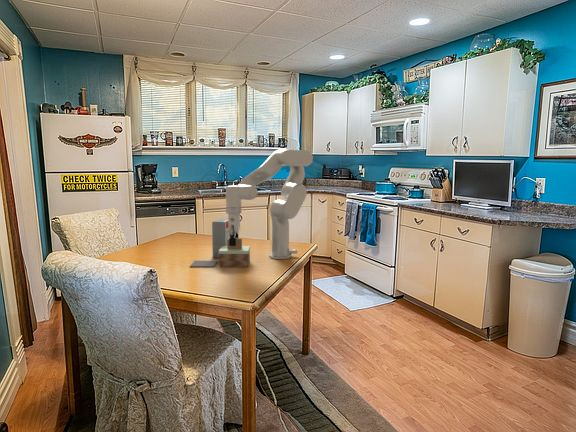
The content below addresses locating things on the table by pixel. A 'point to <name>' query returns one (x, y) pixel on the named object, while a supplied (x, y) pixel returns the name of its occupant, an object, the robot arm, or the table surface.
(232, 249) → the lid
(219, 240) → the hard drive box
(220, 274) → the table surface
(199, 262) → the mat
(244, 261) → the crate
